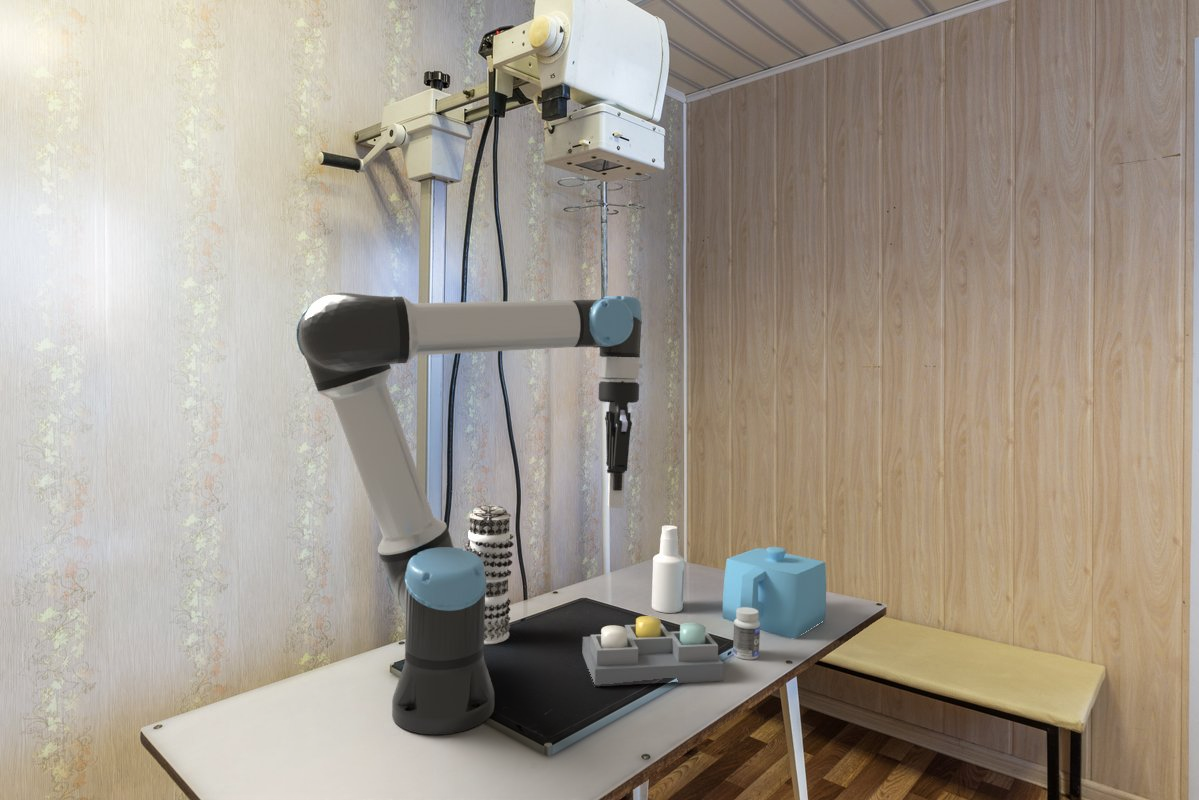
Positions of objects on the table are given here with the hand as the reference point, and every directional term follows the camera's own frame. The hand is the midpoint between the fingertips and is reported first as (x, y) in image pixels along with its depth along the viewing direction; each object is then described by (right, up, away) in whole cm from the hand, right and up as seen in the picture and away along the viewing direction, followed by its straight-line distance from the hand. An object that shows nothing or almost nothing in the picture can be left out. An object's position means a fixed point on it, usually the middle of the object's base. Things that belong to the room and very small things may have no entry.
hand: (615, 506), depth 134 cm
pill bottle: (+24, -27, -1) cm, 37 cm away
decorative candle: (-25, -26, +4) cm, 36 cm away
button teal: (+13, -24, -9) cm, 29 cm away
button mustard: (+6, -23, -6) cm, 25 cm away
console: (+6, -27, -8) cm, 29 cm away
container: (+34, -27, +18) cm, 47 cm away
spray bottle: (+12, -26, +23) cm, 36 cm away
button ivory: (-1, -24, -11) cm, 26 cm away
